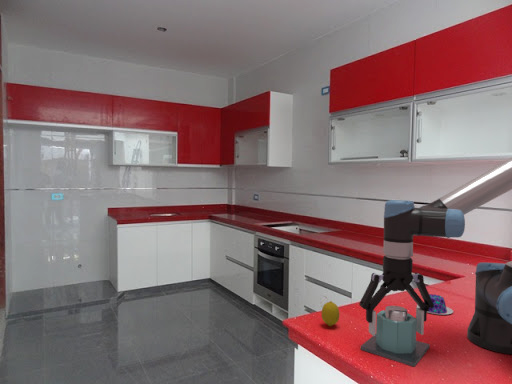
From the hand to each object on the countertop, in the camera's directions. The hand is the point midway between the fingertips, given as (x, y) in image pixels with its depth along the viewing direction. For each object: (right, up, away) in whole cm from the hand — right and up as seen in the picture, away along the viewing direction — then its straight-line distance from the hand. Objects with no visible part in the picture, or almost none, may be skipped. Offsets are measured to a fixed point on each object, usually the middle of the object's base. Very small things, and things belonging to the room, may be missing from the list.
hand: (395, 333), depth 99 cm
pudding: (+27, -5, +32) cm, 42 cm away
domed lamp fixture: (0, -4, 0) cm, 4 cm away
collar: (0, -3, 0) cm, 3 cm away
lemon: (-15, -4, +15) cm, 22 cm away
